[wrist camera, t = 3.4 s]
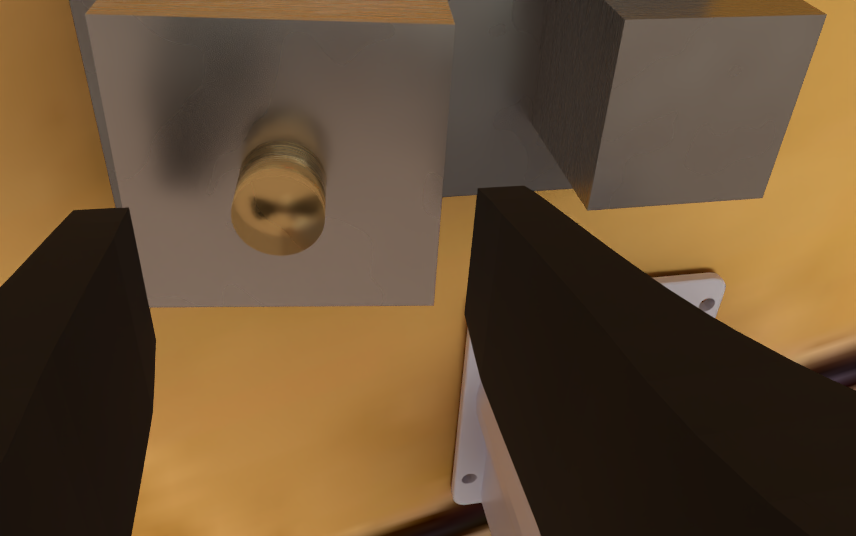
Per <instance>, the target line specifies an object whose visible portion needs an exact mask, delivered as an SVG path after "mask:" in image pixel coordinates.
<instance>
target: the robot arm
mask: <svg viewBox="0 0 856 536" xmlns="http://www.w3.org/2000/svg"><path fill="white" fill-rule="evenodd" d="M725 287H726V285H725V282H724V281H723V279H722V278H721V277H720V276H719V275H718V274H716V273H711V272H708V273H697V274H686V275H675V276H664V277H650V276H649V275H647V274H646V273H644V272H643V271H641V270H640V269H639V268H637V267H636V266H634V265H633V264H631V263H630V262H629V261H627V260H626V259H624V258H623V257H622V256H620V255H619V254H618V253H616V252H615V251H613V250H612V249H611V248H609V247H608V246H607V245H605V244H604V243H603V242H601V241H600V240H598V239H597V238H596V237H594V236H593V235H592V234H590V233H589V232H588V231H586V230H585V229H584V228H582V227H581V226H580V225H578V224H577V223H576V222H574V221H573V220H572V219H570V218H569V217H568V216H567V215H565V214H564V213H563V212H561V211H560V210H559V209H557V208H556V207H555V206H553V205H552V204H550V203H549V202H548V201H546V200H545V199H544V198H542V197H541V196H539V195H538V194H537V193H535V192H534V191H532V190H531V189H529V188H528V187H526V186H506V187H488V188H478V190H477V200H476V210H475V219H474V229H473V238H472V248H471V257H470V267H469V276H468V286H467V295H466V305H465V318H466V322H467V326H468V329H467V339H466V349H465V359H464V369H463V379H462V388H461V398H460V408H459V418H458V428H457V438H456V448H455V458H454V468H453V478H452V487H451V492H452V496H453V500H454V501H455V502H456V503H458V504H461V505H467V504H475V503H482V505H483V508H484V512H485V515H486V518H487V522H488V525H489V528H490V532H491V535H492V536H856V391H855V390H853V389H851V388H849V387H846V386H844V385H842V384H840V383H837V382H835V381H833V380H831V379H829V378H826V377H824V376H822V375H820V374H818V373H816V372H814V371H812V370H810V369H808V368H806V367H804V366H802V365H800V364H798V363H796V362H794V361H792V360H790V359H788V358H786V357H784V356H782V355H780V354H779V353H777V352H775V351H773V350H771V349H769V348H767V347H766V346H764V345H762V344H760V343H758V342H756V341H754V340H753V339H751V338H749V337H747V336H745V335H743V334H741V333H740V332H738V331H736V330H734V329H732V328H731V327H729V326H727V325H726V324H724V323H722V322H720V321H719V320H717V319H715V318H716V315H717V312H718V309H719V306H720V303H721V301H722V298H723V295H724V292H725ZM705 299H707V300H705ZM703 300H705V301H704V302H702V301H703ZM701 302H702V303H701ZM155 350H156V338H155V333H154V328H153V323H152V318H151V313H150V309H149V304H148V299H147V294H146V289H145V284H144V279H143V274H142V269H141V264H140V259H139V254H138V249H137V244H136V239H135V234H134V229H133V224H132V219H131V215H130V210H129V207H125V208H107V209H89V210H73V211H72V212H71V213H70V214H69V215H68V216H67V217H66V218H65V220H64V221H63V222H62V223H61V224H60V225H59V226H58V227H57V228H56V229H55V230H54V231H53V232H52V233H51V234H50V235H49V236H48V237H47V238H46V239H45V240H44V242H43V243H42V244H41V245H40V246H39V247H38V248H37V249H36V250H35V251H34V252H33V253H32V254H31V255H30V257H29V258H28V259H27V260H26V261H25V262H24V263H23V264H22V265H21V266H20V267H19V268H18V269H17V270H16V271H15V273H14V274H13V275H12V276H11V277H10V278H9V279H8V280H7V281H6V282H5V283H4V284H3V285H2V286H1V287H0V536H131V534H132V529H133V523H134V517H135V512H136V506H137V501H138V495H139V489H140V484H141V478H142V473H143V467H144V461H145V455H146V450H147V444H148V438H149V432H150V426H151V420H152V414H153V399H154V379H155Z"/></svg>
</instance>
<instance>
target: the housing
mask: <svg viewBox="0 0 856 536" xmlns="http://www.w3.org/2000/svg"><path fill="white" fill-rule="evenodd" d="M85 17H86V22H87V27H88V32H89V37H90V42H91V48H92V53H93V58H94V63H95V68H96V73H97V79H98V84H99V89H100V94H101V99H102V105H103V110H104V115H105V120H106V125H107V130H108V136H109V141H110V146H111V151H112V156H113V161H114V167H115V172H116V177H117V182H118V187H119V192H120V198H121V203H122V208H125V207H129V210H130V215H131V219H132V224H133V229H134V234H135V239H136V244H137V249H138V254H139V259H140V264H141V269H142V274H143V279H144V284H145V289H146V294H147V299H148V304H149V307H280V306H430V305H434V296H435V283H436V269H437V256H438V243H439V230H440V217H441V204H442V191H443V178H444V165H445V152H446V139H447V126H448V112H449V99H450V86H451V73H452V60H453V47H454V34H455V22H454V19H453V16H452V13H451V10H450V7H449V4H448V1H447V0H96V1H95V3H94V4H93V5H92V6H91V7H90V9H89V10H88V11H87V12H86V13H85Z"/></svg>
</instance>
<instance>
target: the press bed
mask: <svg viewBox="0 0 856 536" xmlns="http://www.w3.org/2000/svg"><path fill="white" fill-rule="evenodd" d="M95 1H96V0H69V2H70V7H71V11H72V16H73V20H74V25H75V29H76V33H77V38H78V42H79V47H80V51H81V56H82V60H83V64H84V69H85V73H86V78H87V82H88V87H89V91H90V95H91V100H92V104H93V109H94V113H95V118H96V122H97V126H98V131H99V135H100V140H101V144H102V149H103V153H104V158H105V162H106V166H107V171H108V175H109V180H110V184H111V189H112V193H113V197H114V202H115V206H116V208H122V203H121V198H120V192H119V187H118V182H117V177H116V172H115V167H114V161H113V156H112V151H111V146H110V141H109V136H108V130H107V125H106V120H105V115H104V110H103V105H102V99H101V94H100V89H99V84H98V79H97V73H96V68H95V63H94V58H93V53H92V48H91V42H90V37H89V32H88V27H87V22H86V17H85V13H86V12H87V11H88V10H89V9H90V7H91V6H92V5H93V4H94V3H95ZM447 1H448V4H449V7H450V10H451V13H452V16H453V19H454V22H455V34H454V47H453V60H452V73H451V86H450V99H449V112H448V126H447V139H446V152H445V165H444V178H443V191H442V197H452V196H467V195H477V190H478V188H488V187H506V186H526V187H528V188H529V189H531V190H532V191H543V190H558V189H574V190H575V192H576V194H577V195H578V197H579V198H580V200H581V201H582V203H583V204H584V206H585V208H586V209H587V210H601V209H615V208H629V207H643V206H657V205H671V204H685V203H699V202H713V201H727V200H741V199H755V198H763V195H764V192H765V189H766V186H767V183H768V180H769V178H770V175H771V172H772V169H773V166H774V163H775V161H776V158H777V155H778V152H779V149H780V146H781V143H782V141H783V138H784V135H785V132H786V129H787V126H788V124H789V121H790V118H791V115H792V112H793V109H794V107H795V104H796V101H797V98H798V95H799V92H800V89H801V87H802V84H803V81H804V78H805V75H806V72H807V70H808V67H809V64H810V61H811V58H812V55H813V52H814V50H815V47H816V44H817V41H818V38H819V35H820V33H821V30H822V27H823V24H824V21H825V18H826V15H827V14H825V13H823V12H822V11H820V10H818V9H817V8H815V7H813V6H812V5H810V4H808V3H807V2H805V1H803V0H447Z"/></svg>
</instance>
